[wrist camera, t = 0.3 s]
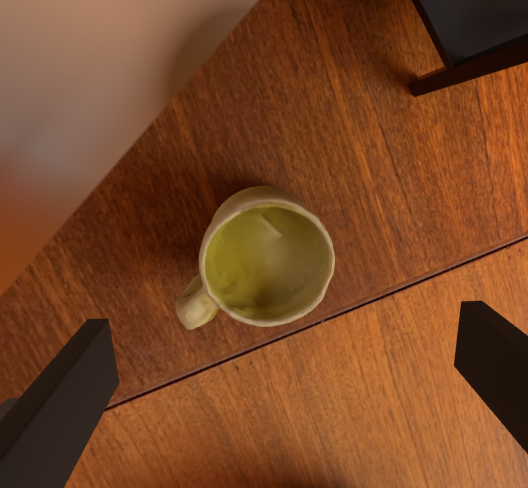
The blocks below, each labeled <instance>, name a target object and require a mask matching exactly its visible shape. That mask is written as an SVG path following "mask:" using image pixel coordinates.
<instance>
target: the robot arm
mask: <svg viewBox="0 0 528 488" xmlns="http://www.w3.org/2000/svg"><path fill="white" fill-rule="evenodd" d="M454 366H455V368H456V369H457V370H458V371H459V372H460V374H461V375H462V376H463V377H464V378H465V379H466V381H467V382H468V383H469V384H470V385H471V387H472V388H473V389H474V390H475V391H476V393H477V394H478V395H479V396H480V397H481V399H482V400H483V401H484V402H485V403H486V405H487V406H488V407H489V408H490V409H491V411H492V412H493V413H494V414H495V415H496V417H497V418H498V419H499V420H500V421H501V423H502V424H503V425H504V426H505V427H506V429H507V430H508V431H509V432H510V433H511V435H512V436H513V437H514V438H515V439H516V441H517V442H518V443H519V444H520V445H521V447H522V448H523V449H524V450H525V451H526V452H527V454H528V336H527V335H526V334H525V333H523V332H522V331H521V330H519V329H518V328H517V327H515V326H514V325H513V324H512V323H510V322H509V321H508V320H506V319H505V318H504V317H502V316H501V315H500V314H498V313H497V312H496V311H495V310H493V309H492V308H491V307H489V306H488V305H487V304H485V303H484V302H483V301H464V302H461V309H460V317H459V326H458V334H457V343H456V352H455V360H454ZM118 384H119V377H118V372H117V366H116V360H115V354H114V348H113V343H112V337H111V331H110V325H109V319H87V321H86V322H85V323H84V324H83V325H82V326H81V328H80V329H79V330H78V331H77V332H76V333H75V335H74V336H73V337H72V338H71V339H70V340H69V341H68V343H67V344H66V345H65V346H64V347H63V348H62V350H61V351H60V352H59V353H58V354H57V355H56V357H55V358H54V359H53V360H52V361H51V362H50V364H49V365H48V366H47V367H46V368H45V369H44V370H43V372H42V373H41V374H40V375H39V376H38V377H37V379H36V380H35V381H34V382H33V383H32V384H31V386H30V387H29V388H28V389H27V390H26V391H25V393H24V394H23V395H22V396H21V397H20V398H16V399H8V400H7V401H5V402H4V403H2V404H1V405H0V488H64V486H65V485H66V483H67V481H68V479H69V477H70V475H71V473H72V471H73V469H74V467H75V466H76V464H77V462H78V460H79V458H80V456H81V454H82V452H83V450H84V448H85V447H86V445H87V443H88V441H89V439H90V437H91V435H92V433H93V431H94V429H95V428H96V426H97V424H98V422H99V420H100V418H101V416H102V414H103V412H104V410H105V409H106V407H107V405H108V403H109V401H110V399H111V397H112V395H113V393H114V391H115V390H116V388H117V386H118Z"/></svg>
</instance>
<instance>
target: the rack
mask: <svg viewBox="0 0 528 488" xmlns="http://www.w3.org/2000/svg"><path fill="white" fill-rule="evenodd" d="M412 1H413V3H414V5H415V7H416V9H417V11H418V13H419V15H420V17H421V19H422V21H423V23H424V25H425V27H426V29H427V31H428V33H429V35H430V37H431V39H432V41H433V43H434V45H435V47H436V49H437V51H438V53H439V55H440V57H441V59H442V61H443V63H444V65H445V67H442V68H440V69H437V70H435V71H432V72H430V73H427V74H425V75H422V76H420V77H418V78H417V79H415V80H414V81H413V82H411V83H410V84H409V85H408V86H409V88H410V90H411V92H412V93H413V95H414V97H417V96H420V95H423V94H427V93H430V92H433V91H436V90H439V89H443V88H446V87H449V86H452V85H456V84H459V83H462V82H465V81H468V80H472V79H475V78H478V77H481V76H484V75H488V74H491V73H494V72H497V71H501V70H504V69H507V68H510V67H513V66H517V65H520V64H523V63H526V62H528V0H412Z"/></svg>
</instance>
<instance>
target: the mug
mask: <svg viewBox="0 0 528 488" xmlns="http://www.w3.org/2000/svg"><path fill="white" fill-rule="evenodd" d="M334 265H335V257H334V251H333V243H332V240H331V238H330V236H329V234H328V232H327V230H326V229H325V227H324V225H323V223H322V222H321V220H320V219H319V218H318V217H317V216H316V215H315V214H314V213H313V212H312V211H311V210H310V209H309V208H308V207H307V206H306V205H305V204H304V203H303V202H301V201H300V200H298V199H297V198H296V197H295V196H294V195H292V194H291V193H289V192H287V191H285V190H283V189H280V188H277V187H273V186H256V187H250V188H247V189H244V190H241V191H239V192H237V193H235V194H234V195H232V196H231V197H229V198H228V199H227V200H226V201H225V202H224V203H223V204H222V205H221V206H220V207H219V209H218V210H217V211H216V213H215V215H214V217H213V220H212V222H211V224H210V225H209V227H208V229H207V231H206V233H205V235H204V237H203V241H202V245H201V249H200V253H199V270H200V273H199V274H198V275H197V276H196V277H195V278H193V279H192V280H191V282H190V283H189V284H188V286H187V287H186V289H185V291H184V292H183V294H182V295H181V296H180V298H179V299H178V300H177V302H176V311H177V316H178V318H179V319H180V321H181V322H182V323H183V325H184V326H185V327H186V328H187V329H194V328H196V327H199V326H202V325H204V324H206V323H207V322H208V321H210V320H212V319H213V317H214V316H215V314H216V313H217V312H218V311H219V310H223V311H225V312H226V313H227V314H228V315H229V316H230V317H232V318H234V319H236V320H238V321H240V322H243V323H246V324H250V325H254V326H260V327H271V326H279V325H282V324H285V323H289V322H293V321H295V320H297V319H299V318H301V317H302V316H304V315H306V314H308V313H309V312H311V311H312V310H313V309H314V308H315V307H316V306H317V305H318V303H319V302H320V301H321V300H322V299H323V297H324V295H325V292H326V290H327V287H328V284H329V282H330V279H331V277H332V275H333V273H334Z"/></svg>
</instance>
